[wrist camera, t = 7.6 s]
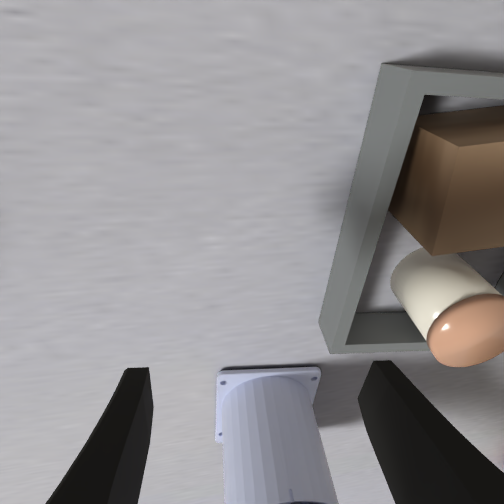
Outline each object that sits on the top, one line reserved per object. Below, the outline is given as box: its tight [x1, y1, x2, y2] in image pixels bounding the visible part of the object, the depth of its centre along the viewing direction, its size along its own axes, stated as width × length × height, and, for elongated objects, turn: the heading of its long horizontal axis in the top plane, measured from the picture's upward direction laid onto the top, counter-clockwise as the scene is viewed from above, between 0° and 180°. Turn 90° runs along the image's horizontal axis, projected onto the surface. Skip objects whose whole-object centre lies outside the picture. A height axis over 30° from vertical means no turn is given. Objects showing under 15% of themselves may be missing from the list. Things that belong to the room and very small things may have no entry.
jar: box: [390, 247, 504, 367], centre depth 20 cm, size 5×5×6 cm
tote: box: [318, 64, 504, 354], centre depth 19 cm, size 16×13×3 cm
